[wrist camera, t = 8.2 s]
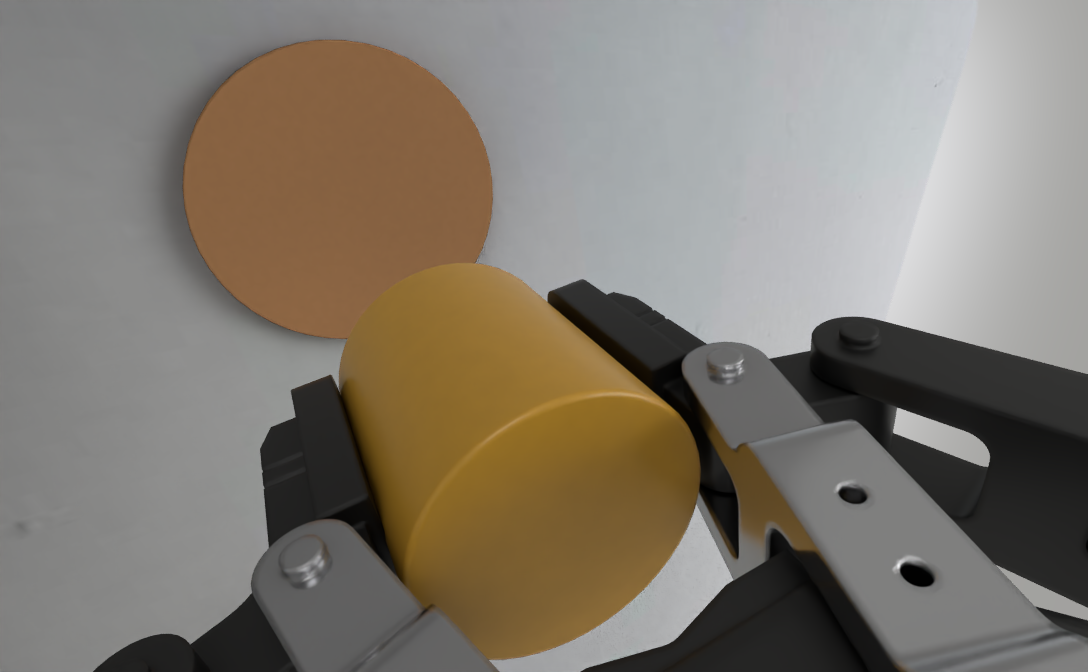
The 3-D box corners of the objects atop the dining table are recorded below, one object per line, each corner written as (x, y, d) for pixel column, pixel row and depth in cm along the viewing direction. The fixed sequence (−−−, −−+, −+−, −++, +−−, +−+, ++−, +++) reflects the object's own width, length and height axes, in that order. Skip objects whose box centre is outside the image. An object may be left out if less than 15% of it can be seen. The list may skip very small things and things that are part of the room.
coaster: (115, 237, 20) (112, 244, 20) (302, -40, 19) (305, -42, 19) (385, 372, 27) (389, 381, 26) (535, 170, 26) (543, 174, 25)
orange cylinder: (288, 411, 11) (327, 634, 7) (432, 214, 11) (561, 329, 7) (469, 485, 14) (573, 680, 10) (590, 330, 13) (751, 463, 9)
